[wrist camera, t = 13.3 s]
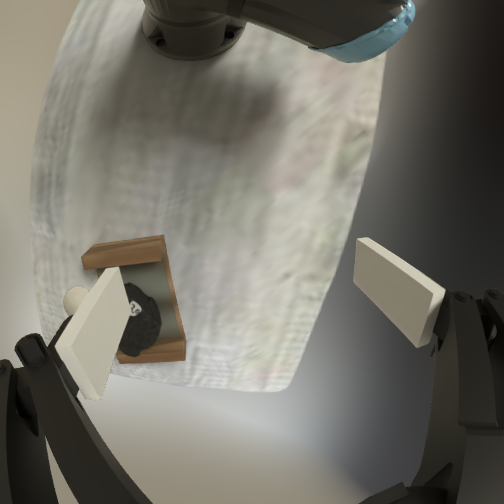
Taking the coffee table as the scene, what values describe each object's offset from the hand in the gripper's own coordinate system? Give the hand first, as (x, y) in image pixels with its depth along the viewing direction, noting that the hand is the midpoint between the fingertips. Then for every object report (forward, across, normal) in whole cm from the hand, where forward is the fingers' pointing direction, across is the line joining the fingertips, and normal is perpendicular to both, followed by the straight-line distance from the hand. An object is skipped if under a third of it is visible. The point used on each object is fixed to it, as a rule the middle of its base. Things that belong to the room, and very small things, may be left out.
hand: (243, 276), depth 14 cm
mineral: (+25, -15, -17) cm, 34 cm away
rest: (+27, -15, -15) cm, 34 cm away
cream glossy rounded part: (+27, -27, -16) cm, 41 cm away
